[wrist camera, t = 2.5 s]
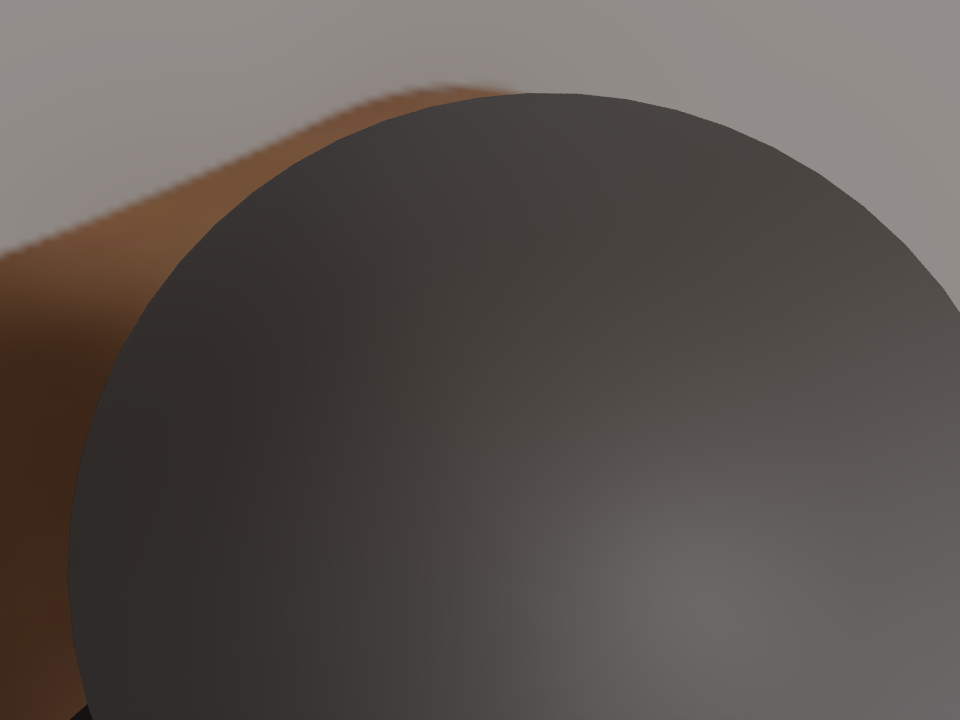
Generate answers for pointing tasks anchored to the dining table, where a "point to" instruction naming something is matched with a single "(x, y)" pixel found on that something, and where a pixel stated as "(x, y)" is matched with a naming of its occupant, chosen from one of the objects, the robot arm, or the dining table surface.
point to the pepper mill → (530, 440)
